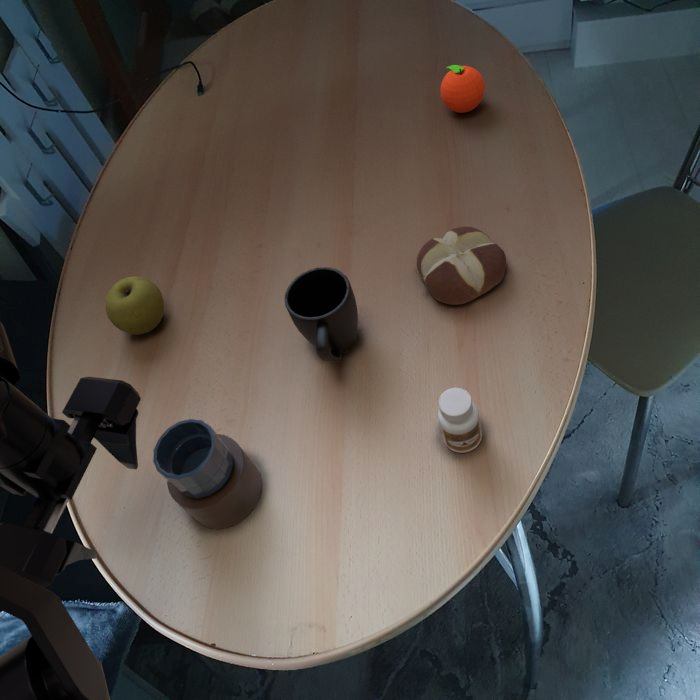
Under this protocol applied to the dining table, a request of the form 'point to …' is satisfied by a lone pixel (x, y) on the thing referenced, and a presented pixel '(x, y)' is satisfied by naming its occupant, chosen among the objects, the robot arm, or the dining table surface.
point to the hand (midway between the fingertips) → (113, 510)
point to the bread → (461, 265)
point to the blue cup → (193, 458)
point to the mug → (324, 311)
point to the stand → (226, 493)
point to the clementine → (462, 88)
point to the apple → (135, 305)
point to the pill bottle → (459, 420)
